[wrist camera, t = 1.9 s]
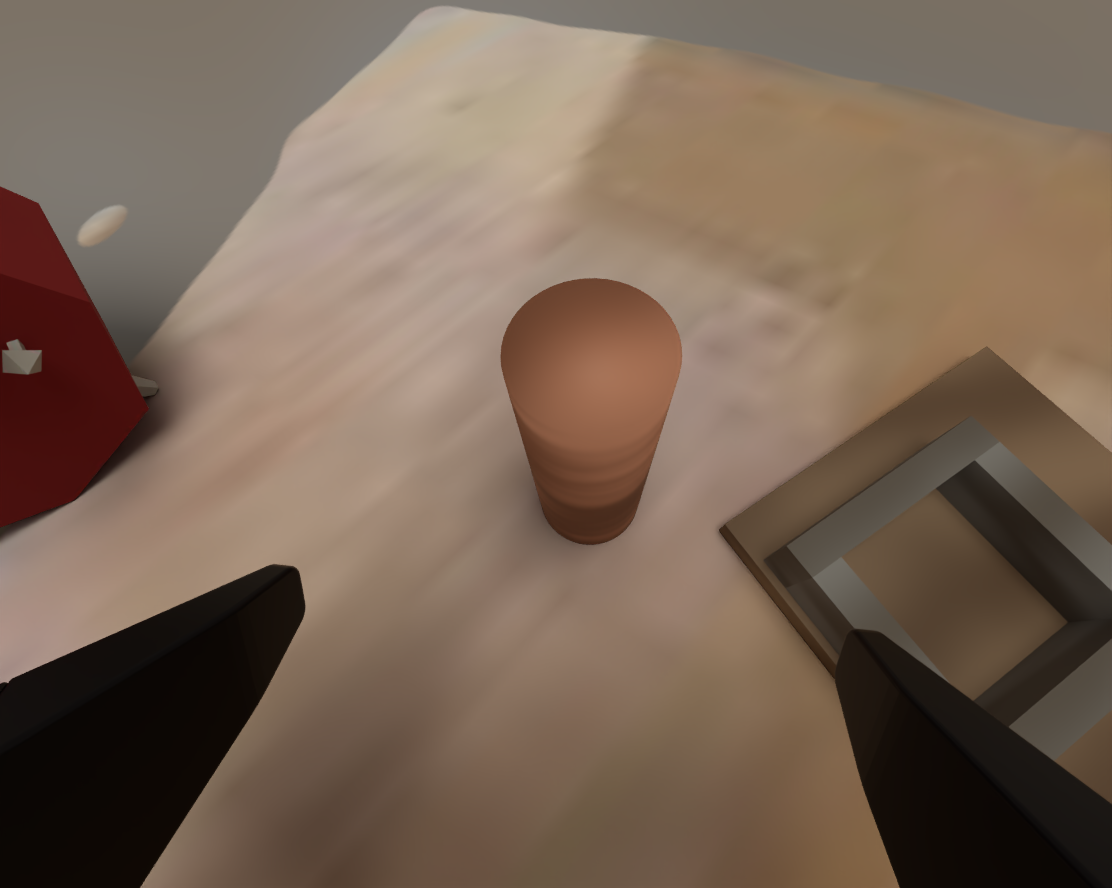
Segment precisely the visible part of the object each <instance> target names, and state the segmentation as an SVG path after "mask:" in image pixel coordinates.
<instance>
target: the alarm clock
mask: <svg viewBox="0 0 1112 888" xmlns="http://www.w3.org/2000/svg"><path fill="white" fill-rule="evenodd" d="M157 389H158V386H157V384H156V383H155V381H153V380H149V379H145V378H141V377H137V376H133V375H131V374H130V372H129V370H128V368H127V366H126V364H125V362H124V360H123V358H122V356H121V355H120V353H119V351H118V349H117V347H116V345H115V343H114V341H113V339H112V337H111V335H110V334H109V332H108V330H107V328H106V326H105V324H104V322H103V320H102V318H101V316H100V315H99V313H98V311H97V309H96V307H95V306H94V304H93V302H92V300H91V298H90V296H89V295H88V293H87V291H86V289H85V288H84V285H83V284H82V282H81V280H80V278H79V276H78V275H77V273H76V271H75V269H74V267H73V265H72V264H71V262H70V260H69V258H68V257H67V254H66V253H65V251H64V249H63V247H62V245H61V243H60V242H59V240H58V238H57V236H56V234H55V233H54V231H53V229H52V227H51V225H50V223H49V222H48V220H47V218H46V216H45V214H44V213H43V211H42V209H41V207H40V205H39V204H38V203H37V202H34V201H32V200H30V199H27V198H25V197H23V196H21V195H18V194H16V193H13V192H12V191H9V190H7V189H5V188H2V187H0V527H3V526H5V525H8V524H11V523H14V522H16V521H19V520H22V519H25V518H27V517H30V516H33V515H35V514H38V513H41V512H44V511H46V510H49V509H52V508H55V507H57V506H60V505H63V504H65V503H68V502H71V501H74V500H75V499H76V498H77V497H78V495H79V494H80V493H81V492H82V491H83V489H84V488H85V487H86V486H87V484H88V483H89V482H90V481H91V479H92V478H93V477H94V476H95V475H96V473H97V472H98V471H99V470H100V468H101V467H102V466H103V465H104V464H105V462H106V461H107V460H108V459H109V457H110V456H111V455H112V454H113V453H114V451H115V450H116V449H117V448H118V446H119V445H120V444H121V443H122V442H123V440H124V439H125V438H126V437H127V435H128V434H129V433H130V432H131V431H132V429H133V428H134V427H135V426H136V424H137V423H138V422H139V421H140V419H141V418H142V417H143V416H144V415H145V413H146V412H147V411H148V410H149V408H148V406H147V404H146V402H145V400H144V399H143V397H144V396H151V395H155V394H156V392H157Z"/></svg>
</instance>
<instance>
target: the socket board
mask: <svg viewBox="0 0 1112 888" xmlns="http://www.w3.org/2000/svg"><path fill="white" fill-rule="evenodd" d="M719 531H720V532H721V534H722V535H723V536H724V538H725V539H726V540H727V541H728V543H729V544H730V545H731V547H732V548H733V549H734V550H735V552H736V553H737V554H738V556H739V557H740V558H741V559H742V561H743V562H744V563H745V564H746V566H747V567H748V568H749V570H750V571H751V572H752V573H753V575H754V576H755V577H756V579H757V580H758V581H759V582H760V584H761V585H762V586H763V588H764V589H765V590H766V591H767V593H768V594H769V595H770V597H771V598H772V599H773V600H774V602H775V603H776V604H777V605H778V607H779V608H780V609H781V611H782V612H783V613H784V614H785V616H786V617H787V618H788V620H789V621H790V622H791V623H792V625H793V626H794V627H795V629H796V630H797V631H798V632H799V634H800V635H801V636H802V638H803V639H804V640H805V641H806V643H807V644H808V645H809V646H810V648H811V649H812V650H813V652H814V653H815V654H816V655H817V657H818V658H819V659H820V661H821V662H822V663H823V664H824V666H825V667H826V668H827V670H828V671H829V672H830V673H831V675H832V676H833V677H834V679H835V668H836V664H837V661H838V658H839V655H840V652H841V649H842V646H843V643H844V639H845V636H846V634H847V632H848V631H849V630H851V629H854V628H857V629H866V630H875V631H879V632H881V633H882V634H884V635H885V636H887V637H888V638H889V639H891V640H892V641H893V642H895V643H896V644H897V645H899V646H900V647H902V648H903V649H904V650H906V651H907V652H908V653H910V654H911V655H912V656H914V657H915V658H916V659H918V660H919V661H920V662H922V663H923V664H924V665H926V666H927V667H928V668H930V669H931V670H933V671H934V672H935V673H937V674H938V675H939V676H941V677H942V678H943V679H945V680H946V681H947V682H949V683H950V684H951V685H953V686H954V687H955V688H957V689H958V690H959V691H961V692H962V693H963V694H965V695H966V696H968V697H969V698H970V699H972V700H973V701H974V702H976V703H977V704H978V705H980V706H981V707H982V708H984V709H985V710H986V711H988V712H989V713H990V714H992V715H993V716H994V717H996V718H997V719H998V720H1000V721H1001V722H1003V723H1004V724H1005V725H1007V726H1008V727H1009V728H1011V729H1012V730H1013V731H1015V732H1016V733H1017V734H1019V735H1020V736H1021V737H1023V738H1024V739H1025V740H1027V741H1028V742H1029V743H1031V744H1032V745H1033V746H1035V747H1036V748H1038V749H1039V750H1040V751H1042V752H1043V753H1044V754H1046V755H1047V756H1048V757H1050V758H1051V759H1052V760H1054V761H1055V762H1056V763H1058V764H1059V765H1060V766H1062V767H1063V768H1064V769H1066V770H1067V771H1068V772H1070V773H1071V774H1073V775H1074V776H1075V777H1077V778H1078V779H1079V780H1081V781H1082V782H1083V783H1085V784H1086V785H1087V786H1089V787H1090V788H1091V789H1093V790H1094V791H1095V792H1097V793H1098V794H1099V795H1101V796H1102V797H1103V798H1105V799H1106V800H1108V801H1109V802H1110V803H1112V453H1111V452H1110V451H1109V450H1108V449H1107V448H1105V447H1104V446H1103V445H1102V444H1101V443H1100V442H1098V441H1097V440H1096V439H1095V438H1094V437H1093V436H1091V435H1090V434H1089V433H1088V432H1087V431H1086V430H1084V429H1083V428H1082V427H1081V426H1080V425H1078V424H1077V423H1076V422H1075V421H1074V420H1073V419H1071V418H1070V417H1069V416H1068V415H1067V414H1066V413H1064V412H1063V411H1062V410H1061V409H1060V408H1059V407H1057V406H1056V405H1055V404H1054V403H1053V402H1052V401H1050V400H1049V399H1048V398H1047V397H1046V396H1045V395H1043V394H1042V393H1041V392H1040V391H1039V390H1037V389H1036V388H1035V387H1034V386H1033V385H1032V384H1030V383H1029V382H1028V381H1027V380H1026V379H1025V378H1023V377H1022V376H1021V375H1020V374H1019V373H1018V372H1016V371H1015V370H1014V369H1013V368H1012V367H1011V366H1009V365H1008V364H1007V363H1006V362H1005V361H1004V360H1002V359H1001V358H1000V357H999V356H998V355H996V354H995V353H994V352H993V351H992V350H991V349H989V348H988V347H987V346H986V347H985V348H983V349H982V350H980V351H979V352H977V353H976V354H975V355H973V356H972V357H970V358H969V359H967V360H966V361H964V362H963V363H961V364H960V365H958V366H957V367H955V368H954V369H952V370H951V371H950V372H948V373H947V374H945V375H944V376H942V377H941V378H939V379H938V380H936V381H935V382H933V383H932V384H930V385H929V386H927V387H926V388H925V389H923V390H922V391H920V392H919V393H917V394H916V395H914V396H913V397H911V398H910V399H908V400H907V401H905V402H904V403H903V404H901V405H900V406H898V407H897V408H895V409H894V410H892V411H891V412H889V413H888V414H886V415H885V416H883V417H882V418H880V419H879V420H878V421H876V422H875V423H873V424H872V425H870V426H869V427H867V428H866V429H864V430H863V431H861V432H860V433H858V434H857V435H855V436H854V437H853V438H851V439H850V440H848V441H847V442H845V443H844V444H842V445H841V446H839V447H838V448H836V449H835V450H833V451H832V452H830V453H829V454H828V455H826V456H825V457H823V458H822V459H820V460H819V461H817V462H816V463H814V464H813V465H811V466H810V467H808V468H807V469H805V470H804V471H803V472H801V473H800V474H798V475H797V476H795V477H794V478H792V479H791V480H789V481H788V482H786V483H785V484H783V485H782V486H780V487H779V488H778V489H776V490H775V491H773V492H772V493H770V494H769V495H767V496H766V497H764V498H763V499H761V500H760V501H758V502H757V503H755V504H754V505H753V506H751V507H750V508H748V509H747V510H745V511H744V512H742V513H741V514H739V515H738V516H736V517H735V518H733V519H732V520H730V521H729V522H728V523H726V524H725V525H724V526H723V527H722V528H721V529H720V530H719Z"/></svg>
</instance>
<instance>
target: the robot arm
mask: <svg viewBox="0 0 1112 888" xmlns="http://www.w3.org/2000/svg"><path fill="white" fill-rule="evenodd" d="M304 613H305V600H304V594H303V589H302V583H301V578H300V573H299V571H298V569H297V568H295V567H293V566H287V565H278V564H272V565H269V566H266V567H264V568H262V569H260V570H257V571H255V572H253V573H250V574H248V575H246V576H244V577H241V578H239V579H237V580H235V581H232V582H230V583H228V584H226V585H223V586H221V587H219V588H216V589H214V590H212V591H210V592H207V593H205V594H203V595H201V596H198V597H196V598H194V599H192V600H189V601H187V602H185V603H182V604H180V605H178V606H176V607H173V608H171V609H169V610H167V611H164V612H162V613H160V614H157V615H155V616H153V617H151V618H148V619H146V620H144V621H142V622H139V623H137V624H135V625H133V626H130V627H128V628H126V629H123V630H121V631H119V632H117V633H114V634H112V635H110V636H108V637H105V638H103V639H101V640H99V641H96V642H94V643H92V644H89V645H87V646H85V647H83V648H80V649H78V650H76V651H74V652H71V653H69V654H67V655H65V656H62V657H60V658H58V659H55V660H53V661H51V662H49V663H46V664H44V665H42V666H40V667H37V668H35V669H33V670H30V671H28V672H26V673H24V674H21V675H19V676H17V677H15V678H12V679H11V680H10V681H9V683H6V682H3V683H1V684H0V888H140V887H141V885H142V884H143V882H144V881H145V879H146V877H147V876H148V874H149V873H150V871H151V870H152V868H153V867H154V865H155V864H156V862H157V860H158V859H159V857H160V856H161V854H162V853H163V851H164V850H165V848H166V847H167V845H168V843H169V842H170V840H171V839H172V837H173V836H174V834H175V833H176V831H177V829H178V828H179V826H180V825H181V823H182V822H183V820H184V819H185V817H186V816H187V814H188V812H189V811H190V809H191V808H192V806H193V805H194V803H195V802H196V800H197V799H198V797H199V795H200V794H201V792H202V791H203V789H204V788H205V786H206V785H207V783H208V781H209V780H210V778H211V777H212V775H213V774H214V772H215V771H216V769H217V768H218V766H219V764H220V763H221V761H222V760H223V758H224V757H225V755H226V754H227V752H228V751H229V749H230V747H231V746H232V744H233V743H234V741H235V740H236V738H237V737H238V735H239V733H240V732H241V730H242V729H243V727H244V726H245V724H246V723H247V721H248V720H249V718H250V716H251V715H252V713H253V712H254V710H255V708H256V707H257V705H258V703H259V702H260V700H261V698H262V696H263V695H264V693H265V691H266V689H267V687H268V685H269V683H270V682H271V680H272V678H273V676H274V674H275V672H276V670H277V668H278V666H279V664H280V662H281V660H282V658H283V656H284V654H285V653H286V651H287V649H288V647H289V645H290V643H291V641H292V639H293V637H294V635H295V633H296V631H297V629H298V627H299V626H300V624H301V622H302V619H303V617H304ZM835 683H836V687H837V691H838V695H839V699H840V703H841V707H842V711H843V714H844V718H845V722H846V726H847V730H848V734H849V738H850V742H851V745H852V749H853V753H854V757H855V761H856V765H857V769H858V772H859V776H860V779H861V782H862V786H863V789H864V792H865V795H866V797H867V800H868V803H869V806H870V809H871V811H872V814H873V817H874V819H875V822H876V825H877V828H878V830H879V833H880V836H881V838H882V841H883V844H884V846H885V849H886V852H887V855H888V857H889V860H890V863H891V865H892V868H893V871H894V874H895V876H896V879H897V882H898V884H899V887H900V888H1112V803H1110V802H1109V801H1108V800H1106V799H1105V798H1103V797H1102V796H1101V795H1099V794H1098V793H1097V792H1095V791H1094V790H1093V789H1091V788H1090V787H1089V786H1087V785H1086V784H1085V783H1083V782H1082V781H1081V780H1079V779H1078V778H1077V777H1075V776H1074V775H1073V774H1071V773H1070V772H1068V771H1067V770H1066V769H1064V768H1063V767H1062V766H1060V765H1059V764H1058V763H1056V762H1055V761H1054V760H1052V759H1051V758H1050V757H1048V756H1047V755H1046V754H1044V753H1043V752H1042V751H1040V750H1039V749H1038V748H1036V747H1035V746H1033V745H1032V744H1031V743H1029V742H1028V741H1027V740H1025V739H1024V738H1023V737H1021V736H1020V735H1019V734H1017V733H1016V732H1015V731H1013V730H1012V729H1011V728H1009V727H1008V726H1007V725H1005V724H1004V723H1003V722H1001V721H1000V720H998V719H997V718H996V717H994V716H993V715H992V714H990V713H989V712H988V711H986V710H985V709H984V708H982V707H981V706H980V705H978V704H977V703H976V702H974V701H973V700H972V699H970V698H969V697H968V696H966V695H965V694H963V693H962V692H961V691H959V690H958V689H957V688H955V687H954V686H953V685H951V684H950V683H949V682H947V681H946V680H945V679H943V678H942V677H941V676H939V675H938V674H937V673H935V672H934V671H933V670H931V669H930V668H928V667H927V666H926V665H924V664H923V663H922V662H920V661H919V660H918V659H916V658H915V657H914V656H912V655H911V654H910V653H908V652H907V651H906V650H904V649H903V648H902V647H900V646H899V645H897V644H896V643H895V642H893V641H892V640H891V639H889V638H888V637H887V636H885V635H884V634H882V633H881V632H879V631H875V630H866V629H857V628H854V629H851V630H849V631H848V632H847V634H846V636H845V639H844V643H843V646H842V649H841V652H840V655H839V658H838V661H837V664H836V668H835Z"/></svg>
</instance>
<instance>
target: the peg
mask: <svg viewBox="0 0 1112 888" xmlns="http://www.w3.org/2000/svg"><path fill="white" fill-rule="evenodd" d="M681 363H682V347H681V341H680V337H679V334H678V331H677V329H676V326H675V324H674V323H673V321H672V319H671V317H670V316H669V315H668V313H667V312H666V311H665V310H664V308H663V307H662V306H661V305H660V304H659V303H658V302H657V301H655V300H654V299H653V298H651V297H650V296H649V295H647V294H646V293H644V292H642V291H641V290H639V289H637V288H635V287H632V286H630V285H627V284H624V283H621V282H618V281H613V280H608V279H597V278H592V279H578V280H572V281H567V282H563V283H560V284H557V285H554V286H552V287H550V288H548V289H546V290H544V291H542V292H540V293H539V294H537V295H535V296H534V297H533V298H531V299H530V300H529V301H528V302H526V303H525V304H524V305H523V306H522V307H521V308H520V309H519V310H518V312H517V313H516V314H515V316H514V317H513V318H512V320H511V322H510V324H509V325H508V327H507V330H506V332H505V335H504V337H503V342H502V346H501V367H502V372H503V376H504V380H505V383H506V386H507V390H508V393H509V397H510V400H511V403H512V407H513V410H514V414H515V417H516V420H517V424H518V427H519V431H520V434H521V437H522V441H523V444H524V448H525V451H526V454H527V458H528V461H529V465H530V468H531V471H532V475H533V478H534V482H535V485H536V488H537V492H538V495H539V499H540V502H541V505H542V509H543V512H544V514H545V517H546V519H547V521H548V522H549V524H550V525H551V526H552V528H553V529H554V530H555V531H556V532H557V533H559V534H560V535H561V536H563V537H564V538H566V539H568V540H570V541H573V542H576V543H580V544H592V545H593V544H600V543H604V542H607V541H610V540H612V539H614V538H615V537H617V536H619V535H620V534H621V533H622V532H623V531H624V530H625V529H626V528H627V527H628V526H629V525H630V523H631V522H632V520H633V518H634V516H635V513H636V510H637V507H638V504H639V501H640V498H641V495H642V491H643V488H644V485H645V482H646V479H647V476H648V472H649V469H650V466H651V463H652V460H653V456H654V453H655V450H656V447H657V444H658V441H659V437H660V434H661V431H662V428H663V425H664V422H665V418H666V415H667V412H668V409H669V406H670V402H671V399H672V396H673V393H674V390H675V387H676V383H677V380H678V377H679V373H680V369H681Z"/></svg>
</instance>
